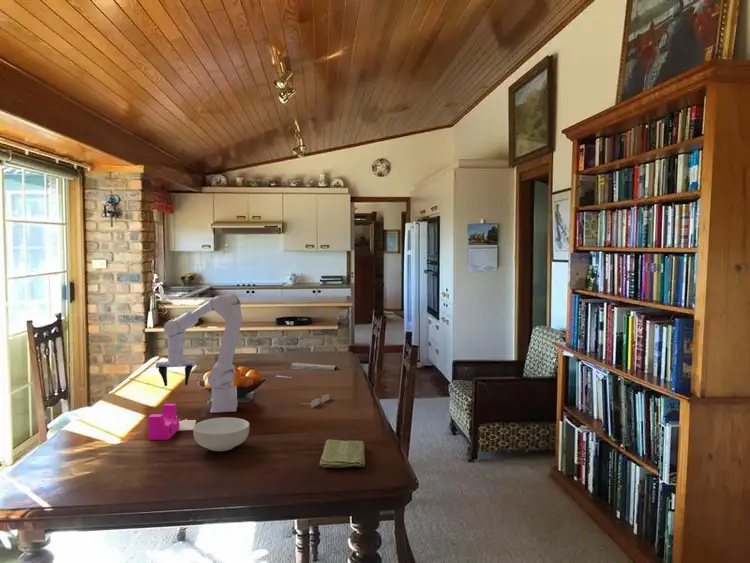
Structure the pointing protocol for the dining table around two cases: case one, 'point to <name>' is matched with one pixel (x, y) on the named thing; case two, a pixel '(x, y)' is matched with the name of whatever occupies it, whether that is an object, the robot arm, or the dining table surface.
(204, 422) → the cereal bowl
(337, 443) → the washcloth
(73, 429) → the dining table surface
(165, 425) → the toy block
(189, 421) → the white flat panel
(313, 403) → the eyeglasses
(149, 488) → the dining table surface
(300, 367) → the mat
